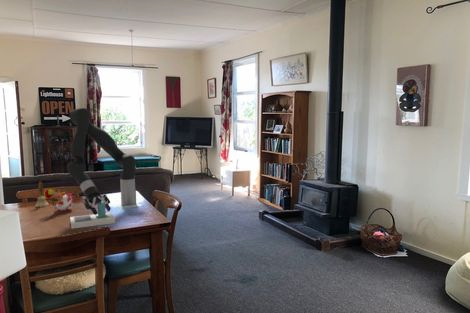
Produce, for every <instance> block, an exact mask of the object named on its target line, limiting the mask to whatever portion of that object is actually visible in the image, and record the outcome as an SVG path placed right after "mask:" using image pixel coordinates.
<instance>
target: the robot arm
mask: <svg viewBox="0 0 470 313" xmlns="http://www.w3.org/2000/svg"><path fill="white" fill-rule="evenodd" d="M69 119H70V121H71V123H72V124H74V125H75V126H77V127H76V130H75V134H74V137H73V139H72V143H71V151H70V155H71V158H73V160H74V161H70V162H68V163H67V165H66V170H67V172H68V174H69V175H70V176H71V177H72V178H73V179H74V180H75V181H76V182H77V184H78V186H79V187H80V190H81V192H82V193H83V196H85V198H84V199H83V201H82V203H83V205H84V207H85V209H86V210H87V211H89V210H90V211H91V212H92V215H93V214H95V215H96V214H98V210H97V209H96V207H95V206H98V203H105V210H107V212H111V207H110V203H111V201H110V199H109V197H108V196H107V195H106V194H103V195H101V194H100V191H99V190H98V188H97V186H96V185H95V182H93V180H92V179H91V178H90V176H89V174H87V173H86V172H85V171H86V161H85V160H86V159H85V147H86V145H85V144H86V139H87V135H88V137H90V139H92V140H93V142H95V143H96V145H98V146H99V147H100V148H101V149H102V150H103V151H105V153H107V154H108V155H109V156H110V158H112V159H113V160H114V161H115V162H116V163H117V165H118V166H119V167H120V168H122V173H121V174H120V178H119V179H120V203H121V205H122V206H132V205H136V204H137V190H136V182H135V181H136V179H135V178H136V173H137V163H136V162H137V161H136V159H135V157H134V156H133V155H130V154H126V153H124V152H123V151H122V149H120V148H119V147H118V145H117V143H116V142H115V140H114V138H113V137H112V136H111V135H110V134H109V133H108V132H107V131H106V130H104V129H102V128H100V127H98V126H97V125H95V124H93V123H92V122H91V112H90V111H89V109H88V108H86V107H80V108H79V107H78V108H75V109H73V110H71V111H70V112H69Z"/></svg>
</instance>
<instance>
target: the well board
mask: <svg viewBox="0 0 470 313" xmlns="http://www.w3.org/2000/svg"><path fill="white" fill-rule="evenodd" d="M89 215H90V217H91V221H83V222H75V219H74V217H78V216H79V215H77V216H70V217H69V220H70V226H71V229H79V228H87V227H94V226H95V227H96V226H102V225H111V224H115V223H116V217H115V216H114V214H113V213H112V212H111V211H109V212H106V218H99V219H98V213H97V214H96V215H95V214H93V213H92V214H89ZM84 216H87V214H86V215H84Z"/></svg>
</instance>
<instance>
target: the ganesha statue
mask: <svg viewBox="0 0 470 313" xmlns="http://www.w3.org/2000/svg"><path fill="white" fill-rule="evenodd" d="M43 197H45V199H46V200H50V202H51V205H52V206H53V207H54V206H55V207H54V209H57V210H56V212H59V211H60V212H64V211H67V210H69V209H71V208H72V206H73V204H74V202H75V200H74V199H75V195H73V193H72V192H71V193H69V192H66V191H63V192H60V189H58V188H53V187H52V189H49V188H47V189H45V191H43Z"/></svg>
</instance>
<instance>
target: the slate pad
mask: <svg viewBox="0 0 470 313" xmlns="http://www.w3.org/2000/svg"><path fill="white" fill-rule="evenodd" d="M86 215H87V214H86ZM90 215H91V214H88V215H87V216H85V215H77V216H78V217H76V216H73V217H74V219H75V222H83V221H91V217H90Z"/></svg>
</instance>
